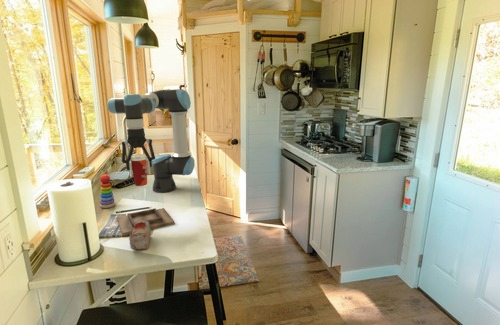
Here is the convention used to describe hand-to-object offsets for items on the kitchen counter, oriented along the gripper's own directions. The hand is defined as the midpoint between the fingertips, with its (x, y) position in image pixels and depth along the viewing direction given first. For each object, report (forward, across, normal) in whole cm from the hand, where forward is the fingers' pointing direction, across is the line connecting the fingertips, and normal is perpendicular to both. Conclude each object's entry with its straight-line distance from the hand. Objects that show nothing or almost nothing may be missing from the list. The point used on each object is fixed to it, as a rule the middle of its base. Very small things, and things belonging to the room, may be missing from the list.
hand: (140, 175), depth 145 cm
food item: (+25, +6, +22) cm, 34 cm away
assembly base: (+25, 0, 0) cm, 25 cm away
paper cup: (+5, 0, 0) cm, 5 cm away
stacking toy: (+25, +14, -34) cm, 44 cm away
